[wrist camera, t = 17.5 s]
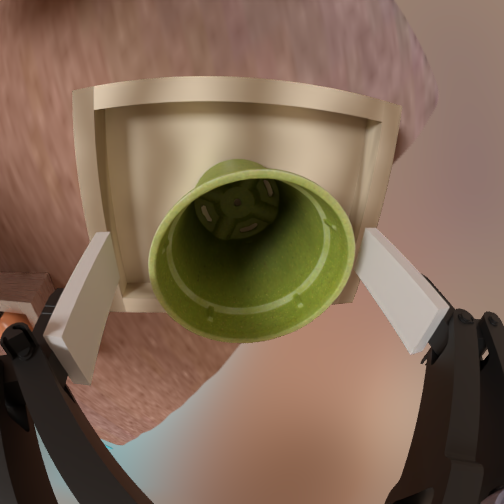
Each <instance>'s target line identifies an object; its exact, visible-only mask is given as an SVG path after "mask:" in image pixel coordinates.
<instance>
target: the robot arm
mask: <svg viewBox="0 0 504 504" xmlns="http://www.w3.org/2000/svg"><path fill="white" fill-rule="evenodd" d="M354 271H355V272H356V274H357V275H358V276H359V278H360V279H361V280H362V282H363V284H364V285H365V286H366V288H367V289H368V291H369V292H370V294H371V295H372V297H373V298H374V299H375V301H376V302H377V304H378V305H379V307H380V308H381V310H382V311H383V313H384V314H385V316H386V317H387V319H388V320H389V322H390V323H391V325H392V326H393V328H394V330H395V331H396V333H397V334H398V336H399V337H400V339H401V341H402V342H403V344H404V345H405V347H406V349H407V350H408V352H409V354H410V355H412V354H415V353H418V352H421V351H422V350H423V349H424V348H425V346H426V345H427V343H429V344H430V346H431V348H430V349H429V351H428V352H427V354H426V355H425V356H424V358H423V359H422V361H421V364H423V363H424V361H425V360H426V359H427V363H426V364H425V365H426V374H425V380H424V386H423V393H422V398H421V403H420V409H419V413H418V418H417V422H416V427H415V431H414V435H413V439H412V442H411V446H410V450H409V453H408V457H407V460H406V463H405V466H404V469H403V472H402V476H401V478H400V480H399V482H398V483H397V484H396V485H395V486H394V487H393V489H392V490H391V492H390V493H389V495H388V497H387V499H386V501H385V504H504V326H503V324H502V322H501V320H500V318H498V316H497V315H496V314H495V313H492V312H485V313H484V315H483V316H482V318H481V319H474V318H473V316H472V315H471V314H470V313H468V312H467V311H465V310H463V309H456V310H455V309H454V308H453V306H452V305H451V304H450V303H449V302H448V301H447V300H446V298H445V297H444V296H443V295H442V294H441V292H439V291H438V289H437V288H436V287H435V286H434V284H433V283H432V282H431V281H430V280H429V279H428V278H427V277H425V276H424V275H423V274H421V273H420V272H419V271H418V270H417V269H416V268H415V267H414V266H413V265H412V263H411V262H410V261H408V259H407V258H406V257H405V256H404V255H403V254H402V253H401V252H400V251H399V250H398V249H397V248H396V247H395V246H394V245H393V244H392V243H391V242H390V241H389V240H388V239H387V238H386V237H385V236H384V235H383V234H382V233H381V232H380V231H379V230H378V229H377V228H365V232H364V235H363V239H362V242H361V246H360V249H359V253H358V256H357V259H356V263H355V266H354ZM119 279H120V276H119V271H118V267H117V263H116V258H115V253H114V249H113V244H112V239H111V233H110V232H96V234H95V235H94V237H93V238H92V240H91V242H90V243H89V245H88V247H87V248H86V250H85V252H84V254H83V255H82V257H81V259H80V261H79V262H78V264H77V266H76V268H75V270H74V271H73V273H72V275H71V277H70V279H69V281H68V283H67V285H66V287H65V288H57V289H56V290H55V291H54V292H53V293H52V294H51V295H50V296H49V298H48V300H47V302H46V304H45V307H44V308H43V310H42V312H41V314H40V316H39V318H38V320H37V322H36V324H35V327H34V329H33V331H32V332H31V330H30V328H29V327H28V325H27V324H25V323H23V322H17V323H14V324H11V325H10V326H9V327H7V328H6V329H5V331H4V332H3V333H2V336H1V339H0V345H1V346H2V347H3V349H4V350H5V352H6V353H7V355H2V356H0V504H58V502H57V500H56V497H55V495H54V492H53V489H52V487H51V484H50V481H49V478H48V475H47V472H46V469H45V465H44V462H43V459H42V455H41V452H40V448H39V444H38V439H37V435H36V431H35V427H34V424H35V426H36V428H37V431H38V433H39V435H40V437H41V439H42V441H43V443H44V445H45V447H46V449H47V451H48V453H49V455H50V457H51V459H52V460H53V462H54V464H55V466H56V468H57V469H58V471H59V473H60V474H61V476H62V478H63V479H64V481H65V482H66V484H67V486H68V487H69V489H70V490H71V492H72V493H73V495H74V496H75V498H76V499H77V501H78V502H79V503H80V504H154V503H153V502H152V501H151V500H150V499H149V498H148V497H147V496H146V495H145V494H144V493H143V492H142V491H141V489H140V488H139V487H138V486H137V485H136V484H135V483H134V482H133V480H132V479H131V478H130V477H129V476H128V475H127V473H126V472H125V471H124V470H123V469H122V467H121V466H120V465H119V464H118V463H117V461H116V460H115V458H114V457H113V456H112V455H111V453H110V452H109V450H108V449H107V448H106V446H105V445H104V444H103V442H102V441H101V439H100V438H99V436H98V435H97V433H96V432H95V430H94V429H93V427H92V426H91V424H90V423H89V421H88V420H87V418H86V417H85V415H84V413H83V412H82V410H81V408H80V407H79V405H78V403H77V402H76V400H75V398H74V396H73V394H72V393H71V391H70V389H69V387H68V386H67V384H66V380H67V376H69V377H70V379H71V380H72V382H73V383H75V384H83V385H91V381H92V377H93V372H94V368H95V363H96V359H97V355H98V351H99V347H100V343H101V339H102V335H103V332H104V328H105V324H106V321H107V317H108V314H109V311H110V307H111V304H112V301H113V298H114V295H115V291H116V288H117V285H118V282H119ZM487 349H488V352H489V354H488V356H487V357H486V358H485V359H484V360H483V359H482V355H483V354H484V353H485V351H486V350H487Z"/></svg>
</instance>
